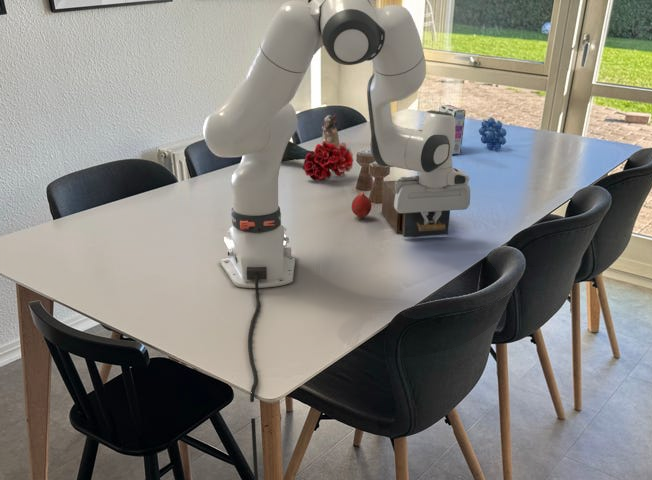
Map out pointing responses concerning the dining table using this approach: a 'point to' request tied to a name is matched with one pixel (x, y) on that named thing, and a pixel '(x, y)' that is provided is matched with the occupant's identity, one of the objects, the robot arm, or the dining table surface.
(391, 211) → the cabinet
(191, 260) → the dining table surface
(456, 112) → the candy bar box
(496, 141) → the grapes
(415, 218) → the drawer
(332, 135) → the figurine
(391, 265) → the dining table surface
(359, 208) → the onion
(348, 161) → the carnation
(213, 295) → the dining table surface
